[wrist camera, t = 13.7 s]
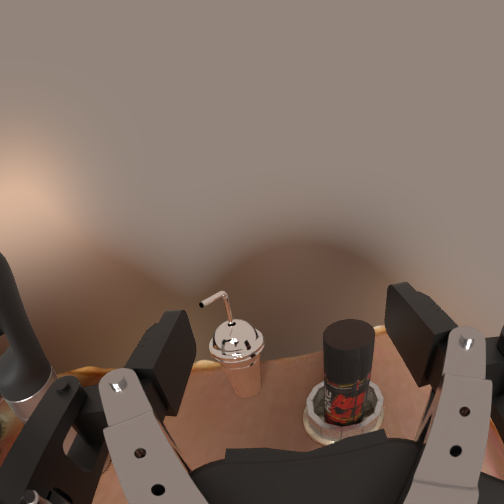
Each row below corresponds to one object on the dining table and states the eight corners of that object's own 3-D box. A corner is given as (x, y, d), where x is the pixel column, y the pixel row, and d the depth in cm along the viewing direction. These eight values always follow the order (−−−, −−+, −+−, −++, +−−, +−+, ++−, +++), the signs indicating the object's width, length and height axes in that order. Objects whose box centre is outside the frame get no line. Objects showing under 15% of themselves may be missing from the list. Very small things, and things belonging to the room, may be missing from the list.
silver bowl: (306, 455, 28) (305, 442, 27) (300, 394, 39) (298, 379, 38) (392, 437, 27) (398, 422, 26) (371, 381, 38) (374, 365, 37)
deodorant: (315, 417, 34) (312, 337, 29) (341, 394, 37) (344, 314, 32) (346, 436, 29) (355, 357, 24) (372, 409, 32) (384, 328, 28)
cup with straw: (283, 387, 42) (267, 280, 36) (239, 416, 37) (207, 308, 31) (251, 366, 48) (231, 267, 42) (211, 389, 43) (178, 289, 38)
